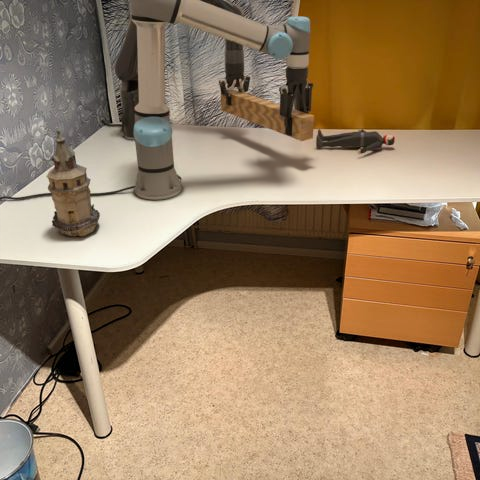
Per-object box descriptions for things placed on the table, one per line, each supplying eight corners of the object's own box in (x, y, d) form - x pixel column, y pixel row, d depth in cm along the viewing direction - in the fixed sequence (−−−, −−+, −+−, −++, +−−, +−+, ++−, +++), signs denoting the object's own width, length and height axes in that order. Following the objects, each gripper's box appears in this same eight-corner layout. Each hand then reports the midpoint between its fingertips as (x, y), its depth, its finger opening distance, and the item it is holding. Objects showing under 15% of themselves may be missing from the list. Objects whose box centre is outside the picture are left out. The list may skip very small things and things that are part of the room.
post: (312, 138, 188) (314, 115, 184) (302, 141, 185) (303, 118, 181) (231, 108, 224) (230, 88, 220) (221, 110, 222) (220, 90, 218)
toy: (319, 122, 224) (394, 122, 218) (319, 137, 227) (392, 137, 221) (314, 142, 202) (397, 143, 196) (314, 158, 205) (395, 159, 199)
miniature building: (80, 214, 164) (63, 117, 149) (111, 225, 157) (96, 125, 142) (44, 231, 154) (22, 130, 140) (75, 244, 147) (55, 139, 133)
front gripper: (309, 61, 187) (306, 126, 198) (269, 68, 178) (268, 135, 190) (324, 64, 182) (320, 131, 193) (283, 72, 173) (281, 141, 184)
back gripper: (243, 57, 214) (244, 99, 223) (213, 61, 207) (215, 105, 216) (255, 60, 209) (254, 103, 217) (224, 64, 202) (225, 109, 210)
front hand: (294, 133), depth 191 cm, fingers closed on post, 5 cm apart
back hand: (235, 104), depth 216 cm, fingers closed on post, 5 cm apart
